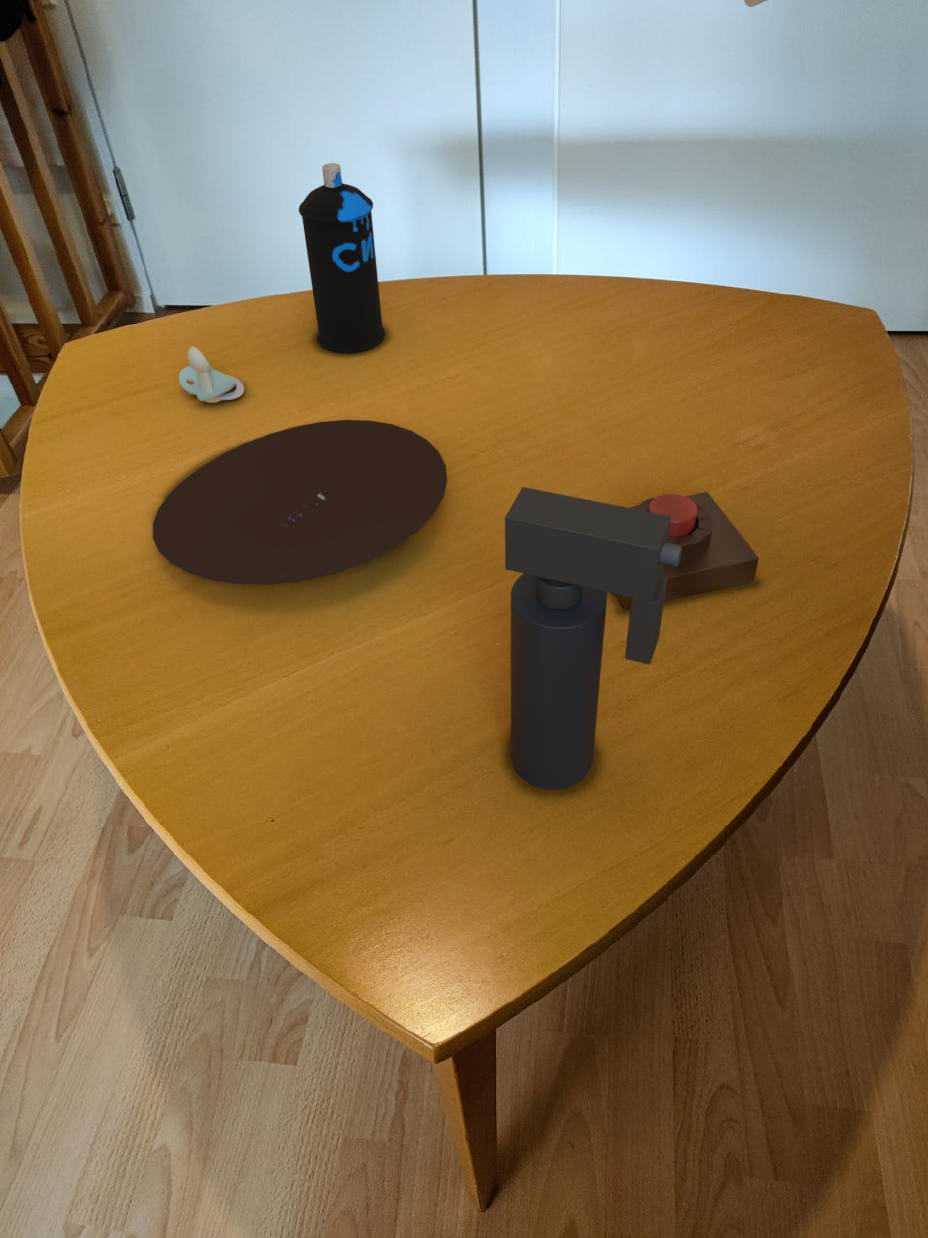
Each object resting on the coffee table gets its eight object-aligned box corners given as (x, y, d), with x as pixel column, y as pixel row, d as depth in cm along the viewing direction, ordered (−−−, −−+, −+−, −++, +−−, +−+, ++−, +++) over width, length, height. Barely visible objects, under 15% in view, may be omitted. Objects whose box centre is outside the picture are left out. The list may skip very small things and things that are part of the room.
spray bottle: (655, 751, 73) (693, 504, 58) (635, 815, 69) (670, 568, 54) (525, 716, 76) (529, 473, 60) (499, 776, 72) (496, 531, 56)
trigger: (658, 639, 63) (667, 577, 60) (649, 665, 62) (658, 603, 58) (634, 633, 64) (641, 572, 60) (624, 659, 62) (631, 597, 58)
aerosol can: (303, 342, 120) (276, 171, 106) (347, 315, 125) (326, 147, 111) (356, 360, 117) (335, 185, 103) (399, 331, 121) (384, 160, 108)
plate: (294, 404, 110) (289, 375, 107) (505, 487, 97) (505, 455, 95) (92, 538, 94) (80, 507, 91) (314, 657, 81) (308, 625, 79)
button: (682, 506, 88) (685, 489, 86) (702, 533, 85) (705, 516, 84) (640, 514, 87) (642, 498, 86) (658, 542, 84) (661, 525, 83)
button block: (703, 514, 93) (710, 475, 90) (754, 582, 86) (763, 541, 83) (582, 539, 91) (585, 499, 88) (624, 610, 84) (628, 570, 81)
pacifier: (220, 373, 116) (175, 391, 113) (210, 322, 111) (164, 340, 108) (257, 396, 112) (211, 415, 109) (248, 344, 108) (201, 363, 104)
